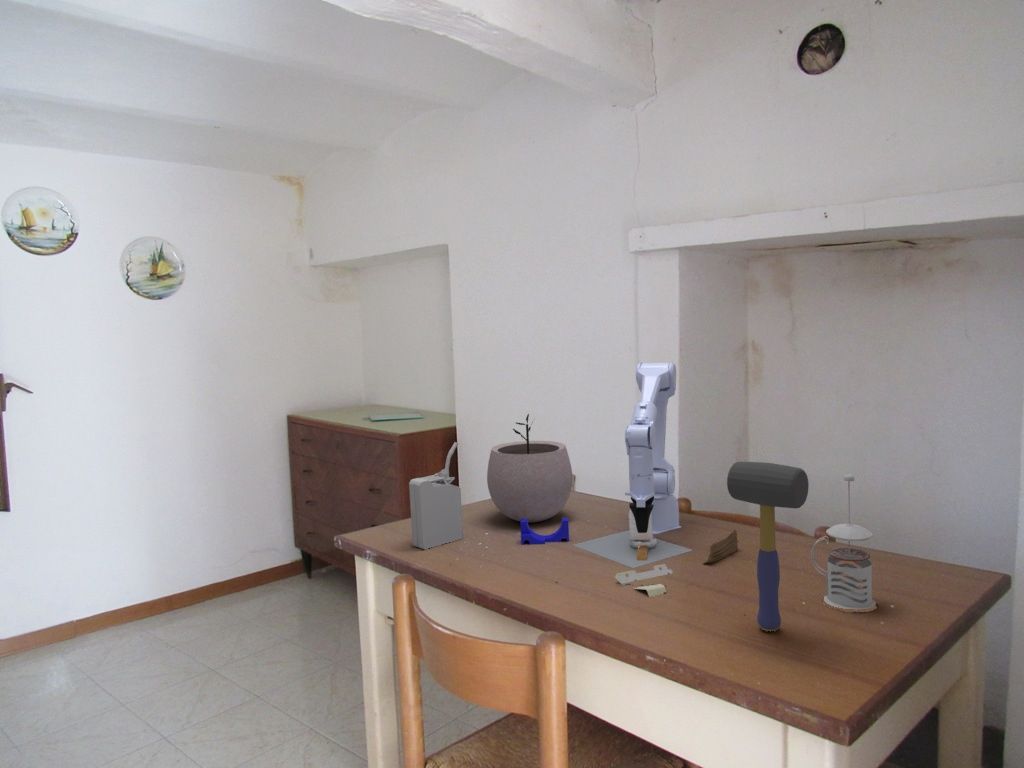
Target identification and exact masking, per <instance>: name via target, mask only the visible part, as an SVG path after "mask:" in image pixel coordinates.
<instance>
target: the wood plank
mask: <svg viewBox="0 0 1024 768" xmlns="http://www.w3.org/2000/svg"><path fill="white" fill-rule="evenodd" d="M738 543H739V539H738V532H737V530H736V528H734V529H733V531H732V532H731V533H730V534H729V535H728V536H727V537H726V538H723V539H722V540H719V541H718V542H715V543H712V544H711V545H710V546H709V548H710V550H709V551H710V552H709V555H708V558H707V561H705V562H702V565H705V564H711V563H714V562H717V561H720V560H722V559H723V558H726V557H727V556H729V554H730V555H732V554H733V553H735V552H736V551H737V550H738V549H739V547H738V546H739V545H738ZM734 551H735V552H734ZM731 553H732V554H731Z"/></svg>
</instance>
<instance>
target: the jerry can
mask: <svg viewBox="0 0 1024 768" xmlns="http://www.w3.org/2000/svg"><path fill="white" fill-rule="evenodd" d="M458 445H459V443H458V442H456V441H454V443H453V444H452V446H451V448H450V449H449V451H448V453H447V456H446V459H445V464H444V465H445V467H444V468H443V469H442V470H441V469H440V471H439V472H436V473H434V474H433V475H427V476H424V477H423V476H422V477H416V478H412V479H410V481H409V483H408V486H409V487H408V489H409V503H410V505H409V506H410V520H411V538H412V546H414V547H416V548H419V549H422V550H426V551H427V550H429V549H428V548H430V549H432V548H431V547H433V548H435V547H434V546H437V547H439V546H438V545H440V546H442V545H441V544H443V545H446V544H445V543H447V544H450V543H452V541H454V542H456V541H455V540H457V541H459V540H458V539H460V540H462V539H463V538H464V526H463V507H462V488H461V487H460V486H457V485H454V484H451V483H452V482H453V481H454V480H455V479H456V478H455V476H450V469H449V468H450V463H451V458H452V456H453V455H454V453H455V450H456V449H457V447H458ZM449 542H450V543H449Z"/></svg>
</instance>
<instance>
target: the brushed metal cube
mask: <svg viewBox="0 0 1024 768" xmlns="http://www.w3.org/2000/svg"><path fill="white" fill-rule="evenodd" d="M628 526H629V530H630V538H631V540H639V539H653V536H654V534H653V526H652V514H651V513H650V517H649V523H648V530H647V533H638V531H637V527H636V522H635V518H634V515H633V513H632V511H631V509H629V512H628Z"/></svg>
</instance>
